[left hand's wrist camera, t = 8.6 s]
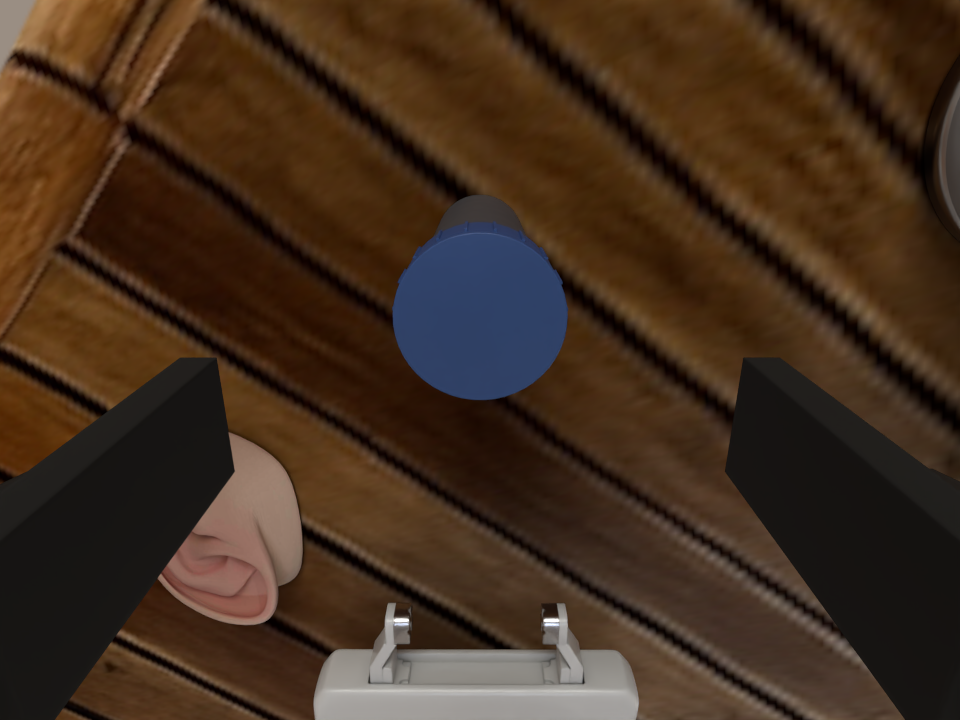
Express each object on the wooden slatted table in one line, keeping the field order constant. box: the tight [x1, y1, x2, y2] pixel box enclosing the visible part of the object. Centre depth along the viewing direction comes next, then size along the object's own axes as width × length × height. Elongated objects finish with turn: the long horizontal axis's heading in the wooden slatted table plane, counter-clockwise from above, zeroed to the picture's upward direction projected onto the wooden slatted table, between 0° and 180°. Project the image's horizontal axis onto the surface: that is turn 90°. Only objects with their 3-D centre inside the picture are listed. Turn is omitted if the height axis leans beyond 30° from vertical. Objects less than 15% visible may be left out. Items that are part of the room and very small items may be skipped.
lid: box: [392, 221, 568, 400], centre depth 21 cm, size 6×6×2 cm
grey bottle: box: [434, 195, 527, 237], centre depth 28 cm, size 5×5×16 cm
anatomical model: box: [158, 432, 303, 625], centre depth 40 cm, size 13×4×12 cm
